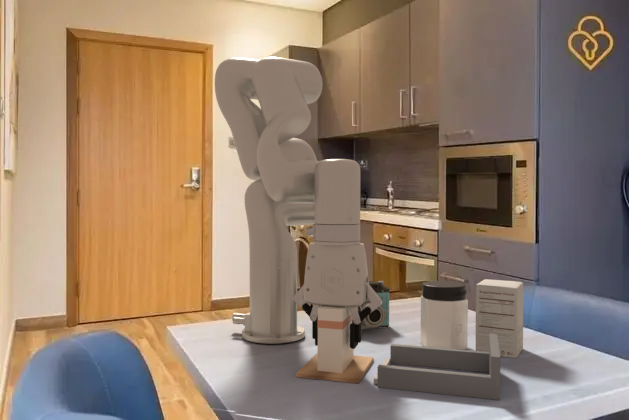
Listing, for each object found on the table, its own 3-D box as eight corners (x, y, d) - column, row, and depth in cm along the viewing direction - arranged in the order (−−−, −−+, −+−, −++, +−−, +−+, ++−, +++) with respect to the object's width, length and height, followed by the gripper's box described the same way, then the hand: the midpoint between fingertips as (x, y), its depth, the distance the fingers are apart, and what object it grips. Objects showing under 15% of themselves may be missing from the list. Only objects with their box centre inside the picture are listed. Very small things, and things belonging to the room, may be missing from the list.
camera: (327, 340, 107) (327, 290, 106) (312, 329, 116) (312, 283, 115) (402, 334, 112) (403, 286, 111) (382, 324, 121) (382, 279, 121)
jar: (443, 355, 97) (443, 289, 96) (411, 344, 103) (411, 282, 103) (476, 347, 102) (477, 284, 101) (444, 338, 108) (444, 279, 108)
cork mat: (296, 376, 85) (296, 373, 85) (318, 355, 96) (318, 352, 96) (358, 383, 82) (358, 379, 82) (373, 360, 93) (373, 357, 93)
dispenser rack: (372, 386, 81) (372, 346, 80) (386, 360, 93) (387, 326, 93) (499, 400, 75) (500, 357, 75) (496, 370, 88) (497, 334, 88)
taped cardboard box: (317, 370, 86) (317, 308, 86) (330, 356, 94) (331, 298, 93) (342, 373, 85) (342, 309, 84) (353, 358, 92) (354, 300, 92)
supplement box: (483, 343, 105) (484, 278, 104) (524, 348, 101) (524, 281, 101) (474, 352, 98) (474, 283, 98) (516, 359, 95) (517, 287, 94)
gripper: (280, 235, 87) (279, 346, 88) (385, 237, 82) (384, 356, 83) (295, 232, 95) (295, 335, 95) (392, 234, 90) (392, 343, 90)
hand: (336, 343), depth 89 cm, fingers open, 5 cm apart
